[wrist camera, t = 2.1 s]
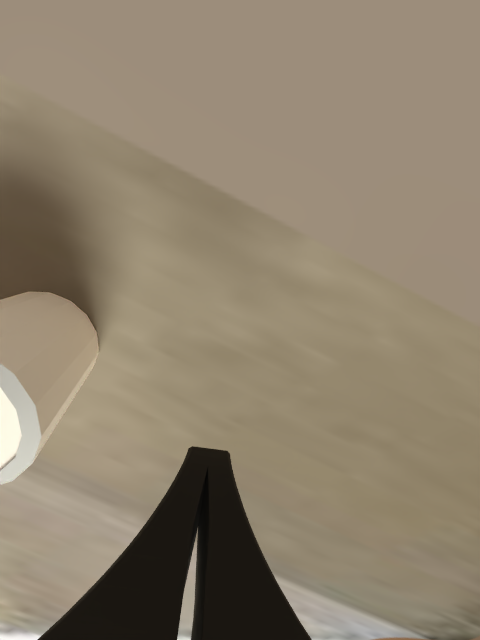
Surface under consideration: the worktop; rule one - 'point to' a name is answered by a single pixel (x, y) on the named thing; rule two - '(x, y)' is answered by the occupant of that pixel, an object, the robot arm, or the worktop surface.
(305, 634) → the robot arm
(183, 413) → the worktop surface
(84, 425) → the worktop surface
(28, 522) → the worktop surface
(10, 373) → the white cylinder
